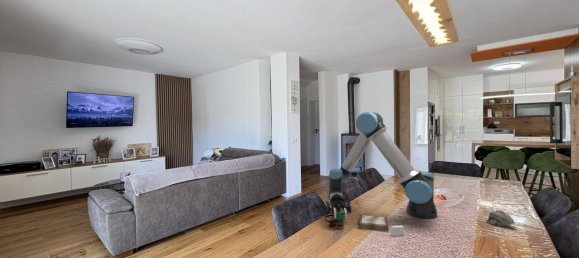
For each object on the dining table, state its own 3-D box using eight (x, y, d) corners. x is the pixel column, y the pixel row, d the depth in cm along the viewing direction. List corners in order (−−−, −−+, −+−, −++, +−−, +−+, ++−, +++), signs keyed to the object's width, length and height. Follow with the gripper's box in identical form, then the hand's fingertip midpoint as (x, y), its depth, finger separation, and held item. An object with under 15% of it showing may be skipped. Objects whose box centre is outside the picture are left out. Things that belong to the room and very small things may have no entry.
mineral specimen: (500, 233, 125) (492, 232, 120) (488, 218, 130) (479, 216, 125) (520, 223, 120) (512, 222, 115) (505, 208, 126) (497, 206, 121)
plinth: (386, 221, 128) (386, 216, 128) (388, 231, 117) (388, 225, 117) (360, 219, 132) (359, 214, 132) (359, 228, 120) (359, 223, 120)
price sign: (402, 234, 114) (402, 225, 114) (403, 235, 112) (403, 227, 112) (391, 234, 114) (391, 225, 113) (392, 236, 112) (392, 227, 112)
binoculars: (323, 202, 129) (343, 202, 127) (326, 223, 129) (345, 222, 127) (322, 208, 120) (343, 207, 118) (324, 230, 120) (345, 230, 118)
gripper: (352, 207, 141) (359, 223, 118) (321, 206, 143) (322, 222, 120) (352, 194, 141) (359, 208, 118) (321, 193, 143) (322, 207, 119)
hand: (340, 215), depth 119 cm, fingers closed on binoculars, 4 cm apart
